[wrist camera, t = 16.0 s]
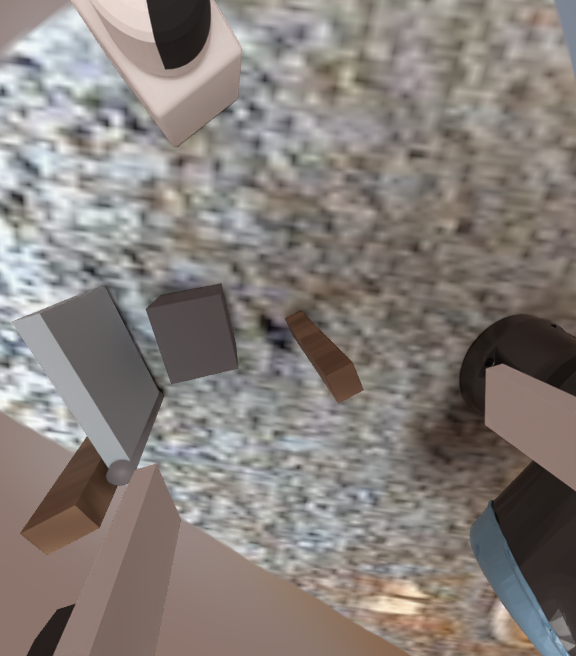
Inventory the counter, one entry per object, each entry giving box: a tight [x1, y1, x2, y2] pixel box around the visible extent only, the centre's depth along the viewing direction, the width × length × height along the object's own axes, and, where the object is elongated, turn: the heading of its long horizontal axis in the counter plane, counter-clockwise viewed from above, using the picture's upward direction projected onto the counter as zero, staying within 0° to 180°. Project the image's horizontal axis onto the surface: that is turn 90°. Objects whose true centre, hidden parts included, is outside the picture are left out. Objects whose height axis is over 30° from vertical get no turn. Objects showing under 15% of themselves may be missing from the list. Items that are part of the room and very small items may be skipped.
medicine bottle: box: [71, 0, 242, 146], centre depth 18 cm, size 7×7×12 cm
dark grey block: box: [146, 284, 238, 384], centre depth 28 cm, size 7×6×6 cm
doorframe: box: [20, 311, 364, 555], centre depth 25 cm, size 2×24×14 cm, turn 114°
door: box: [12, 286, 164, 486], centre depth 24 cm, size 3×13×11 cm, turn 15°
